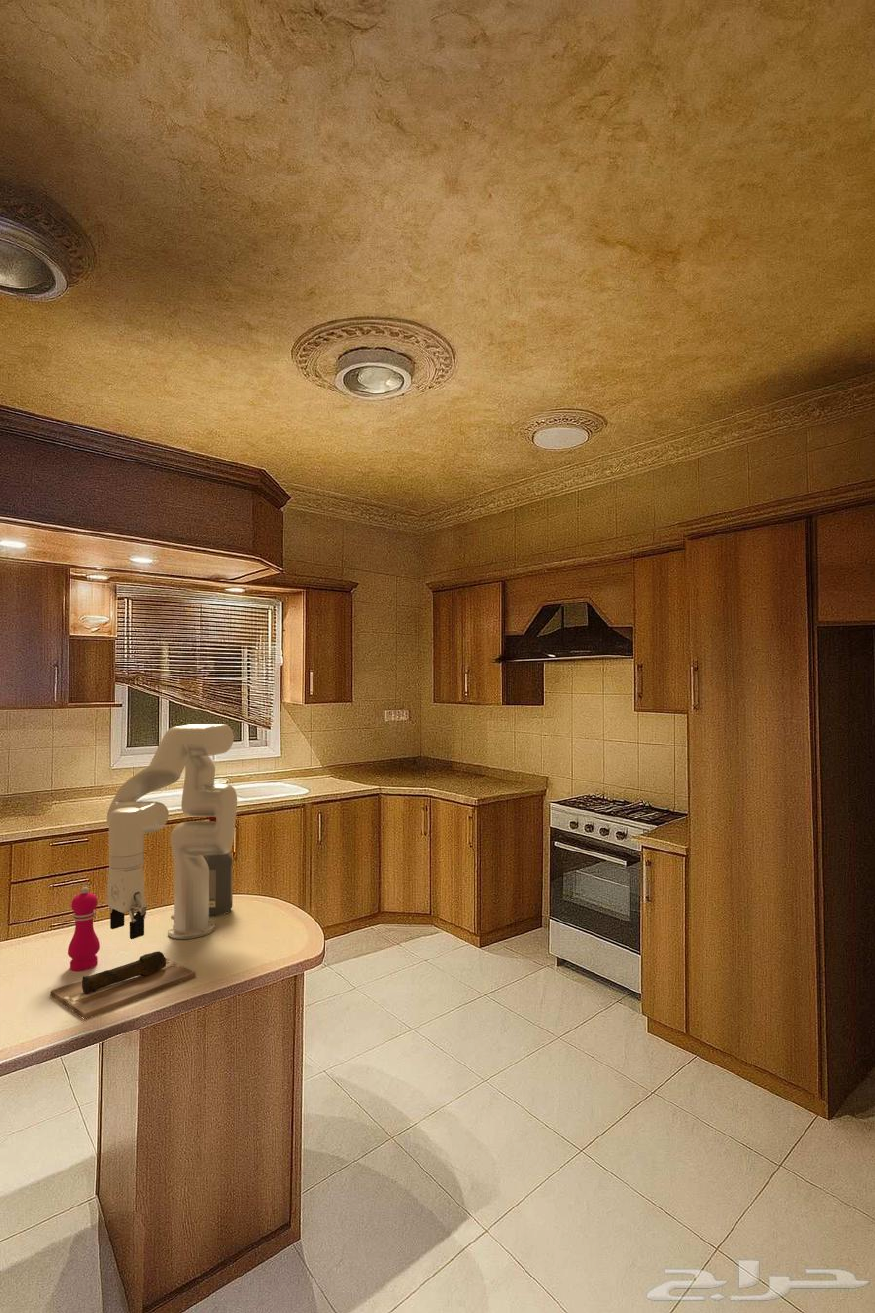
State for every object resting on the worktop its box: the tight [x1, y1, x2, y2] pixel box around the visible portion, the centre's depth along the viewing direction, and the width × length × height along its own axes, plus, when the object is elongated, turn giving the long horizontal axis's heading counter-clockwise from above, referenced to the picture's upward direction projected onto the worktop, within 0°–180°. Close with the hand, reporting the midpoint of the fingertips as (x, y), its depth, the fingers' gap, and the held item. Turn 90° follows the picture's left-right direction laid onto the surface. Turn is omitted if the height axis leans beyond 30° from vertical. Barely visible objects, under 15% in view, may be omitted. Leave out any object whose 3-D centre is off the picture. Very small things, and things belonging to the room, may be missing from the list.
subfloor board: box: [50, 957, 197, 1020], centre depth 157 cm, size 18×26×1 cm
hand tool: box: [81, 951, 166, 994], centre depth 157 cm, size 19×4×5 cm, turn 134°
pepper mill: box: [67, 886, 101, 972], centre depth 169 cm, size 7×7×20 cm
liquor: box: [203, 817, 234, 918], centre depth 210 cm, size 9×9×30 cm
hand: (127, 932), depth 158 cm, fingers open, 9 cm apart
